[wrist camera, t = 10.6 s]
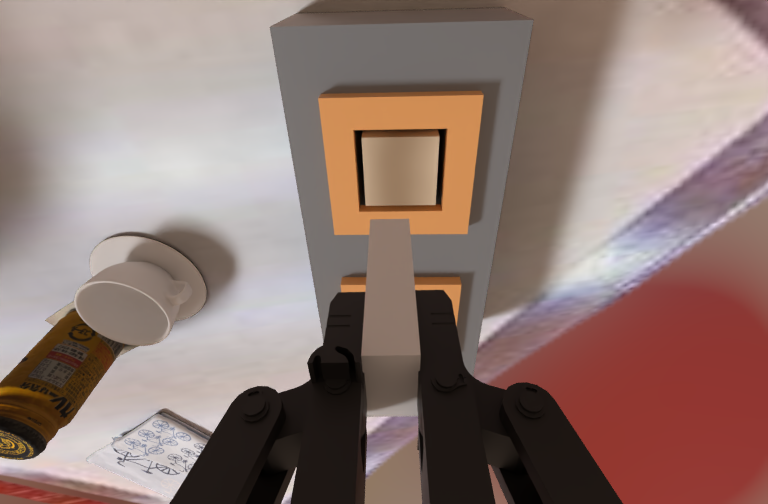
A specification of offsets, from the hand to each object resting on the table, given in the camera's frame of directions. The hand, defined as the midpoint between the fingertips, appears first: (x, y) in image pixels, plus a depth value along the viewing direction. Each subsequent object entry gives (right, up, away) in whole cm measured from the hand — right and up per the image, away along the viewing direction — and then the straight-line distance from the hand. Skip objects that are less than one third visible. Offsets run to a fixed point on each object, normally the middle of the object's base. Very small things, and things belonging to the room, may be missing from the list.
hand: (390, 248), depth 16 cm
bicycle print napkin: (-29, -30, +41) cm, 58 cm away
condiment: (-28, -7, +24) cm, 38 cm away
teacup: (-21, -2, +20) cm, 29 cm away
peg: (+1, +8, +11) cm, 14 cm away
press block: (+1, +3, +15) cm, 15 cm away
